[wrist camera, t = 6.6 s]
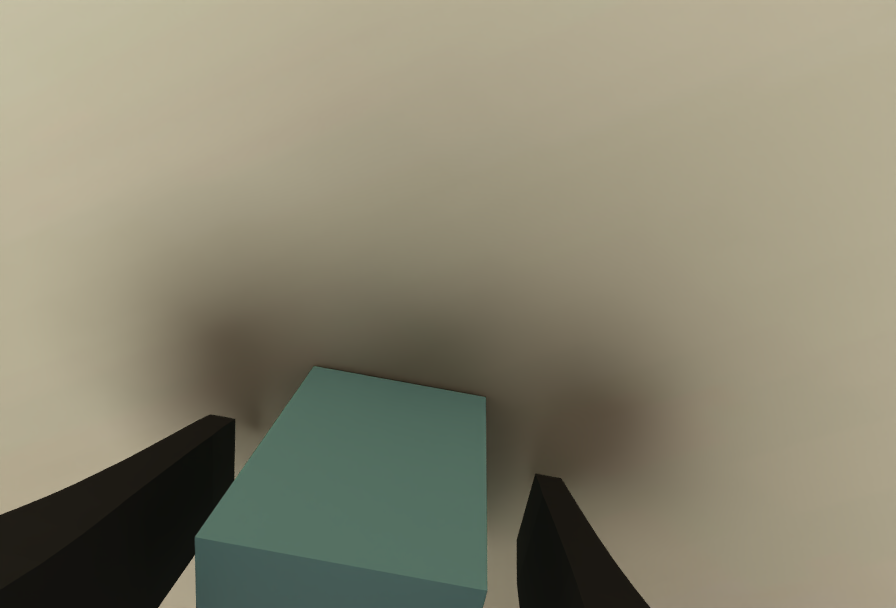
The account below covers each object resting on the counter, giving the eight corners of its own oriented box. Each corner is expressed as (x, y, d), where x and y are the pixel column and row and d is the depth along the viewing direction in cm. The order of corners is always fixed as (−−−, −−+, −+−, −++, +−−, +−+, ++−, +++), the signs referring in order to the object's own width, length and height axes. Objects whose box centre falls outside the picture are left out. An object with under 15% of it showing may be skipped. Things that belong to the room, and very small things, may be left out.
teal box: (485, 397, 12) (487, 597, 7) (452, 546, 14) (434, 795, 9) (314, 365, 12) (190, 543, 7) (301, 518, 14) (195, 751, 9)
